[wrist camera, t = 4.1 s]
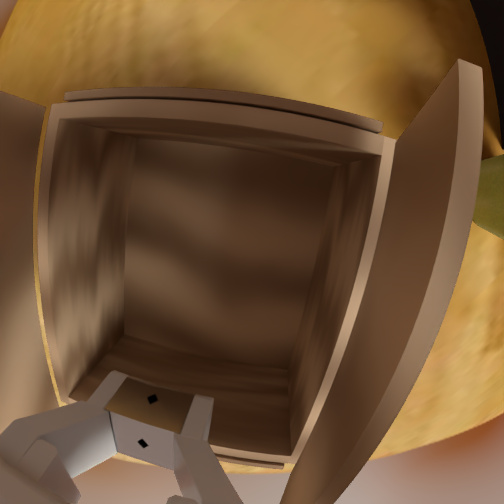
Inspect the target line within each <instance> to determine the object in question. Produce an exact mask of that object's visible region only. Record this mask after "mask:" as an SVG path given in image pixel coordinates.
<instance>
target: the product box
mask: <svg viewBox="0 0 504 504" xmlns="http://www.w3.org/2000/svg"><path fill="white" fill-rule="evenodd" d="M470 2H471V4H472V7H473V10H474V12H475V15H476V18H477V21H478V24H479V27H480V30H481V33H482V36H483V40H484V43H485V47H486V50H487V54H488V58H489V62H490V66H491V71H492V75H493V80H494V85H495V91H496V97H497V103H498V110H499V118H500V127H501V138H502V149H503V150H504V0H470Z"/></svg>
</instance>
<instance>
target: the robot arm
mask: <svg viewBox="0 0 504 504" xmlns="http://www.w3.org/2000/svg"><path fill="white" fill-rule="evenodd" d="M213 404H214V398H212V397H207V396H202V395H198V394H192V393H188V392H184V391H180V390H176V389H172V388H168V387H165V386H161V385H157V384H154V383H151V382H148V381H145V380H142V379H139V378H136V377H133V376H129V375H126V374H124V373H121V372H118V371H116V370H114V371H112V372H110V373H109V374H108V376H107V377H106V378H105V379H104V381H103V382H102V383H101V384H100V386H99V387H98V388H97V389H96V391H95V392H94V393H93V394H92V396H91V397H90V398H89V399H88V401H87V402H85V401H82V400H81V401H78V402H75V403H72V404H69V405H66V406H62V407H59V408H56V409H52V410H49V411H45V412H42V413H38V414H34V415H31V416H27V417H23V418H19V419H15V420H14V421H13V422H12V423H11V424H10V425H9V426H8V427H7V428H6V429H5V430H4V431H3V432H2V433H1V435H0V504H77V503H78V501H79V499H80V497H81V495H80V492H79V490H78V489H77V487H76V485H75V484H74V482H73V480H72V478H73V477H75V476H77V475H79V474H81V473H83V472H85V471H87V470H88V469H90V468H92V467H94V466H96V465H98V464H100V463H101V462H103V461H105V460H107V459H109V458H110V457H112V456H114V455H116V454H117V452H119V453H122V454H124V455H127V456H130V457H133V458H136V459H139V460H143V461H146V462H149V463H152V464H155V465H158V466H161V467H164V468H167V469H171V470H174V474H175V476H176V479H177V482H178V484H179V487H180V490H181V492H182V495H183V497H181V496H177V495H175V496H172V497H169V498H168V501H167V504H243V502H242V501H241V499H240V497H239V496H238V494H237V492H236V491H235V489H234V488H233V486H232V484H231V483H230V481H229V479H228V477H227V476H226V474H225V472H224V470H223V468H222V467H221V465H220V463H219V461H218V459H217V458H216V456H215V454H214V452H213V450H212V448H211V446H210V445H209V443H208V441H207V440H208V435H209V430H210V424H211V417H212V411H213Z"/></svg>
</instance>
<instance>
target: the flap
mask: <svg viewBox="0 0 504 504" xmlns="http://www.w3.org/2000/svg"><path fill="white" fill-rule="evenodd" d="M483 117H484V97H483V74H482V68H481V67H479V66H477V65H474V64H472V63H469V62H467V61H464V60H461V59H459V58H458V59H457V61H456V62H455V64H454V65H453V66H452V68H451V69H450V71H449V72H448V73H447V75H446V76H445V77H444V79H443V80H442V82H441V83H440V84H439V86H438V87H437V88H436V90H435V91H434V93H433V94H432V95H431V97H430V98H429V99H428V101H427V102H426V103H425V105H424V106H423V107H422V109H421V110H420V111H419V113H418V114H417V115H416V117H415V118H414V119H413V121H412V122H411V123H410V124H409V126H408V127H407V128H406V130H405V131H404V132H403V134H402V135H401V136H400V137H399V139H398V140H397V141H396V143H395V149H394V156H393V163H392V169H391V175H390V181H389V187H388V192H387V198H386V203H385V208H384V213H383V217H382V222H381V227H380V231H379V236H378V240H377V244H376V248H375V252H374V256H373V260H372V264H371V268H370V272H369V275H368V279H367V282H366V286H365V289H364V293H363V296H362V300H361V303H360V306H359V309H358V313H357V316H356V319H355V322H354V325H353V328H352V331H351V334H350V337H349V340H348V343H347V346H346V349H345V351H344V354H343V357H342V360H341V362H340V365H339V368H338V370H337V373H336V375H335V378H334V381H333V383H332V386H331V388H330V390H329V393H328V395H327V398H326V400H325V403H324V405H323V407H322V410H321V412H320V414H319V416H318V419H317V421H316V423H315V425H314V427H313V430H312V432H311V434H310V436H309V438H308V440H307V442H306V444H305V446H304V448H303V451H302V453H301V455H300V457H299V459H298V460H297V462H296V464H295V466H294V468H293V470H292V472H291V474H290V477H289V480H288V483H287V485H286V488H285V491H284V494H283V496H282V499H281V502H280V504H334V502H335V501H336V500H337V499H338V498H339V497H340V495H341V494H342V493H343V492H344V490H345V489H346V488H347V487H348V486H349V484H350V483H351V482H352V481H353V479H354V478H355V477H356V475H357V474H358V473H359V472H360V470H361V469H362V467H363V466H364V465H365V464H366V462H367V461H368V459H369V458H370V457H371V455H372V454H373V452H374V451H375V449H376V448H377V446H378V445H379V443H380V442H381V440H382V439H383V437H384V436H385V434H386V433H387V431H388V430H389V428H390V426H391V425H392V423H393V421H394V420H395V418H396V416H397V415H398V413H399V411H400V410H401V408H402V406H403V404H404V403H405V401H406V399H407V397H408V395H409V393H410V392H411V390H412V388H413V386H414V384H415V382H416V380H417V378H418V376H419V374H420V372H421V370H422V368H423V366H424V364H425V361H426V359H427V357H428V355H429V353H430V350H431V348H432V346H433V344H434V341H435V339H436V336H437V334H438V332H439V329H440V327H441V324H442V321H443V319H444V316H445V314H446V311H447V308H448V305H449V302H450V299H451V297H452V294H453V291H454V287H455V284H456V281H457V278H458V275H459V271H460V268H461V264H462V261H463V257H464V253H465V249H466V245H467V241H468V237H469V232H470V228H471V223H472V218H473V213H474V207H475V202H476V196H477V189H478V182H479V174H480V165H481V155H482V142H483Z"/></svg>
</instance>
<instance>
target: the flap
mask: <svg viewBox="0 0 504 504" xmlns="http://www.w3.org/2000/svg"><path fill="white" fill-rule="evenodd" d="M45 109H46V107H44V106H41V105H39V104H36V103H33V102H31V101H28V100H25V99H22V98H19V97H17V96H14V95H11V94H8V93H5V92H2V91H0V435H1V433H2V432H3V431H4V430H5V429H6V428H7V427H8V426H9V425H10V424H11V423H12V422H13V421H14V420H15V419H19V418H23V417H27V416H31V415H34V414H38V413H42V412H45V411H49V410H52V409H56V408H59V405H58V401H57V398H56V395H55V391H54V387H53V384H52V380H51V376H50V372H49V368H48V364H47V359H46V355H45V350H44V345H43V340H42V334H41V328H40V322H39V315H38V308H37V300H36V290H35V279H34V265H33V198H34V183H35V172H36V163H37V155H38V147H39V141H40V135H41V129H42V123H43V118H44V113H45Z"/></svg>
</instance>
